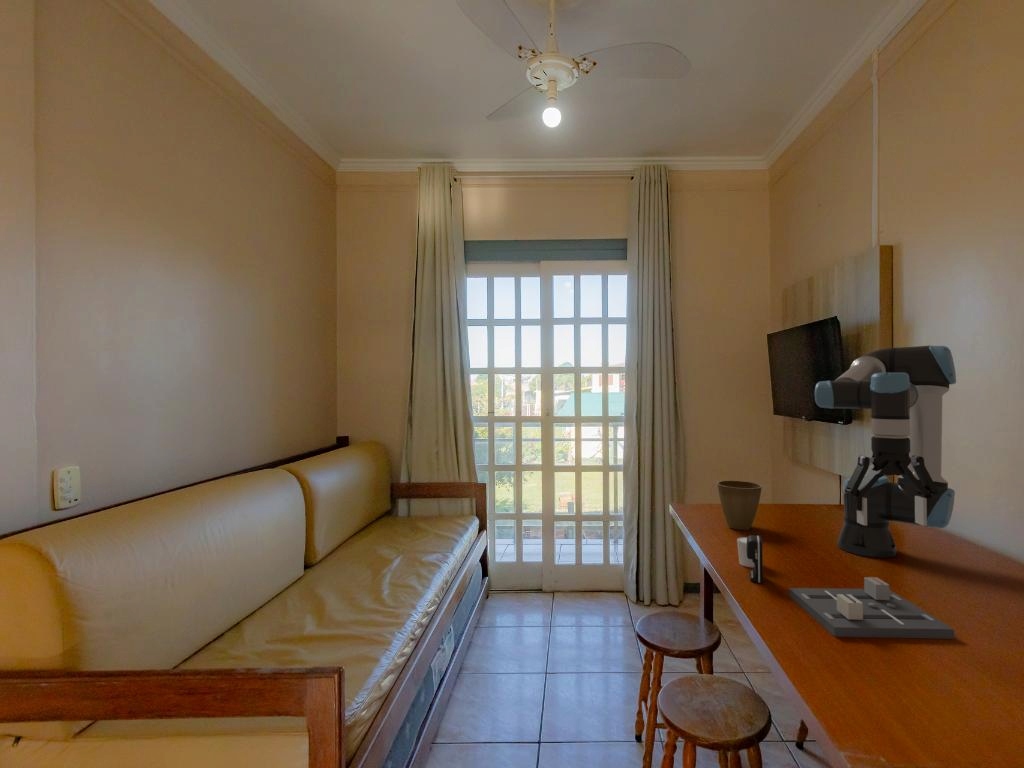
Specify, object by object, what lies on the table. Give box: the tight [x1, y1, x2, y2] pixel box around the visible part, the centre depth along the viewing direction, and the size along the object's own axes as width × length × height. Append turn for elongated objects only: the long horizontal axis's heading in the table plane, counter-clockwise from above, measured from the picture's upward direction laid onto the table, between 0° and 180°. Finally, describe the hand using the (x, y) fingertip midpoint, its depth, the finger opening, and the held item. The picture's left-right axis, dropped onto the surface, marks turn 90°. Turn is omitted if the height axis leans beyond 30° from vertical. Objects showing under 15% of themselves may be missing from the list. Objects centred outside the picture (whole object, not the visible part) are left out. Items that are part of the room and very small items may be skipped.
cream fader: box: [837, 593, 863, 620], centre depth 111 cm, size 3×4×4 cm
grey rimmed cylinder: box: [736, 536, 755, 568], centre depth 148 cm, size 7×7×7 cm
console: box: [788, 587, 955, 640], centre depth 115 cm, size 24×20×3 cm
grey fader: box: [863, 576, 890, 600], centre depth 120 cm, size 3×4×4 cm
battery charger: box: [746, 534, 764, 584], centre depth 137 cm, size 7×4×11 cm, turn 156°
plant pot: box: [717, 480, 763, 531], centre depth 184 cm, size 15×15×16 cm
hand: (891, 524), depth 121 cm, fingers open, 13 cm apart
